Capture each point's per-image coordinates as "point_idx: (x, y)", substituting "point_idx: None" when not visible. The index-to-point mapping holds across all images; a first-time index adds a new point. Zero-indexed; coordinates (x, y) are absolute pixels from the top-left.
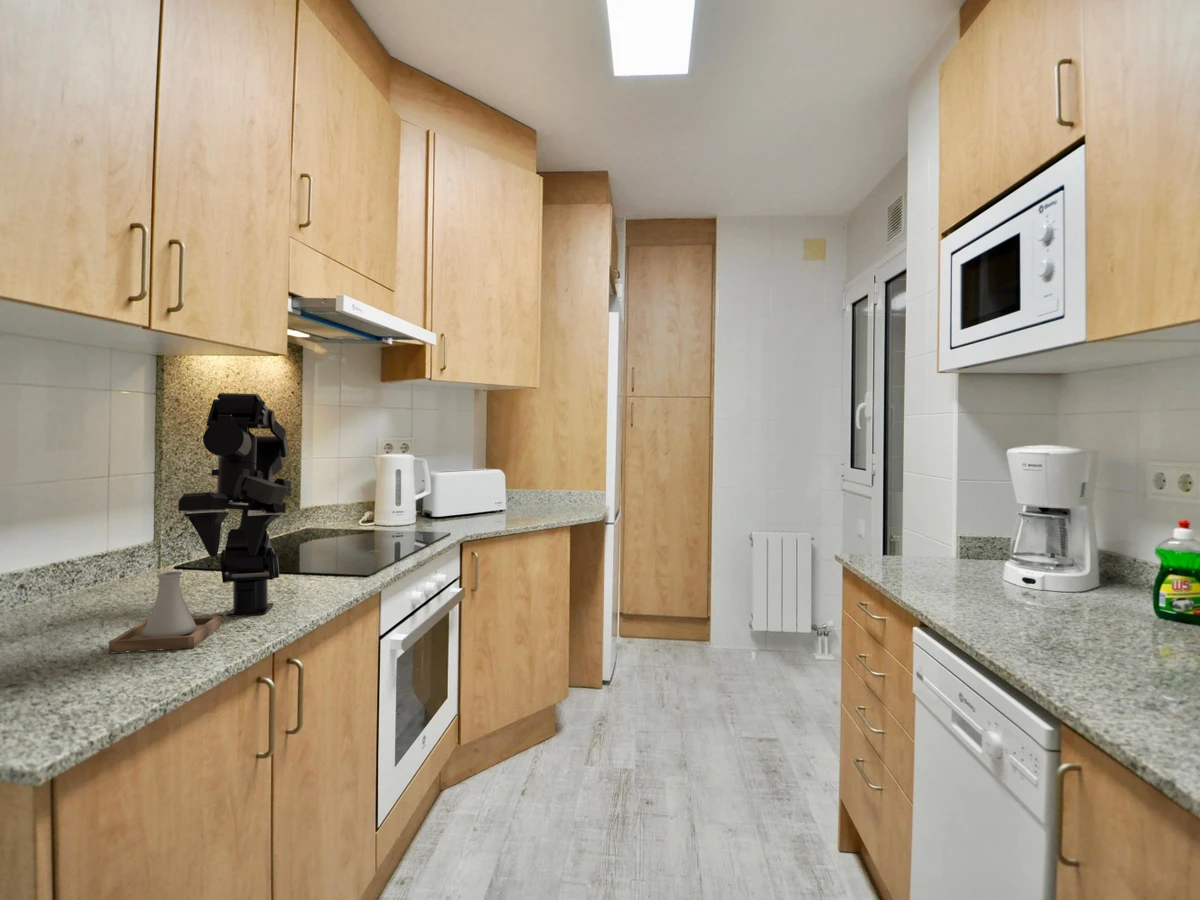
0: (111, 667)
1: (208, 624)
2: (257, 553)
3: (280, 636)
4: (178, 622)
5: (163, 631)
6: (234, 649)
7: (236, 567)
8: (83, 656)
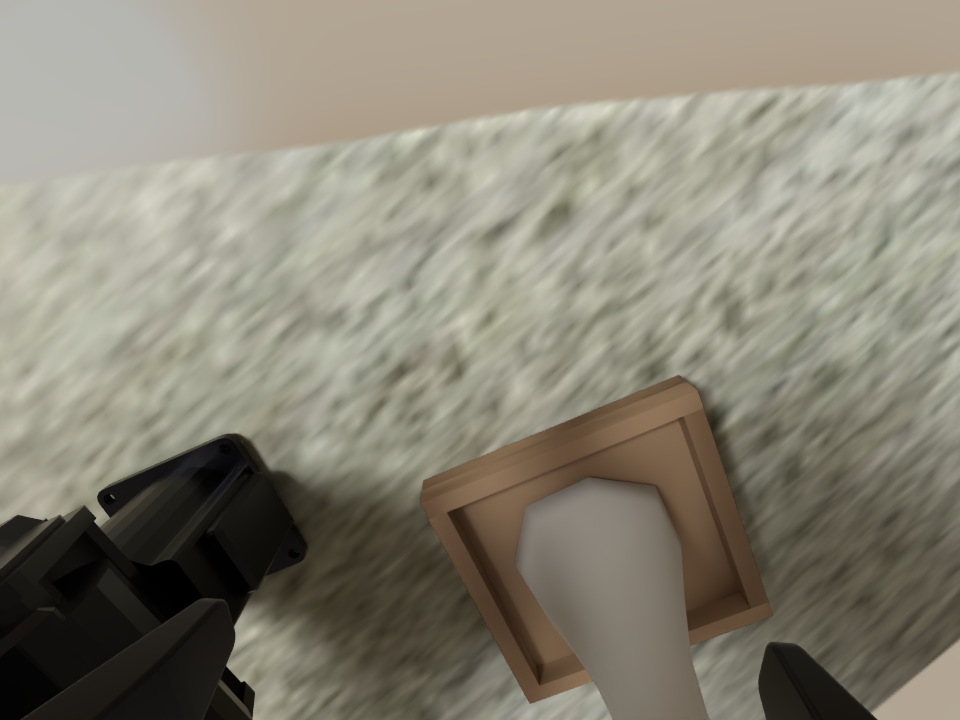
0: (873, 477)
1: (537, 461)
2: (57, 688)
3: (484, 134)
4: (640, 525)
5: (672, 532)
6: (674, 211)
7: (218, 693)
8: (777, 629)
